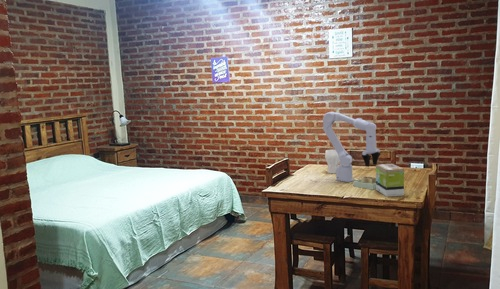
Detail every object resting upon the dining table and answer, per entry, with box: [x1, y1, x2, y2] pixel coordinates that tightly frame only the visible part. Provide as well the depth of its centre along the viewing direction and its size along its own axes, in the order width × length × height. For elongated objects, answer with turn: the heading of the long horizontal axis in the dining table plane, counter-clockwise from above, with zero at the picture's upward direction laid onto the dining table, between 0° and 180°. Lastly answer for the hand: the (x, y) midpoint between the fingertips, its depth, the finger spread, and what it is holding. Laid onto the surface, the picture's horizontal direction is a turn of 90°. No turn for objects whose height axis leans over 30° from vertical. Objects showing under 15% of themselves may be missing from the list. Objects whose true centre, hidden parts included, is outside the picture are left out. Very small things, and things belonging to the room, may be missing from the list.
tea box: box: [375, 163, 405, 198], centre depth 231 cm, size 15×10×15 cm, turn 5°
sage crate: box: [352, 178, 376, 191], centre depth 249 cm, size 13×11×3 cm
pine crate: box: [360, 175, 376, 184], centre depth 249 cm, size 7×5×4 cm
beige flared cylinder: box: [324, 149, 340, 174], centre depth 291 cm, size 11×11×15 cm
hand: (371, 165), depth 259 cm, fingers open, 7 cm apart
